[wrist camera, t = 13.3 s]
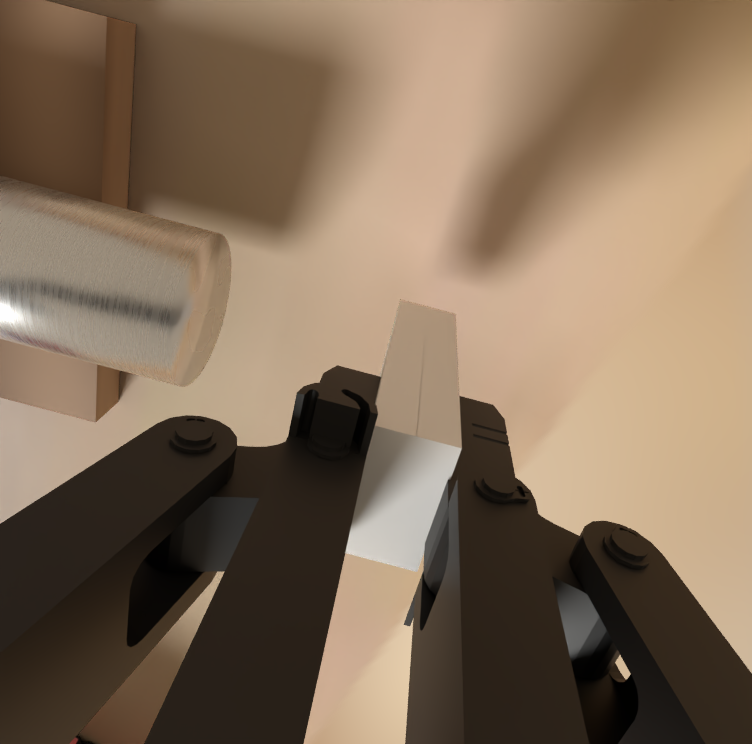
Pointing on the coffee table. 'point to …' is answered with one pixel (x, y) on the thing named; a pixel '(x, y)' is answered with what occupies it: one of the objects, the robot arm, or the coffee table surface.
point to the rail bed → (64, 159)
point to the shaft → (109, 283)
